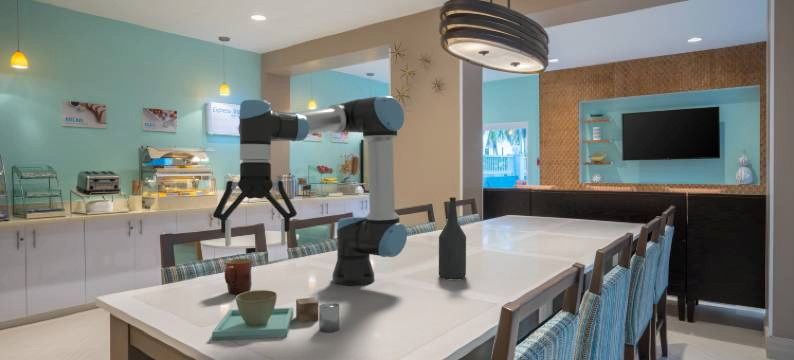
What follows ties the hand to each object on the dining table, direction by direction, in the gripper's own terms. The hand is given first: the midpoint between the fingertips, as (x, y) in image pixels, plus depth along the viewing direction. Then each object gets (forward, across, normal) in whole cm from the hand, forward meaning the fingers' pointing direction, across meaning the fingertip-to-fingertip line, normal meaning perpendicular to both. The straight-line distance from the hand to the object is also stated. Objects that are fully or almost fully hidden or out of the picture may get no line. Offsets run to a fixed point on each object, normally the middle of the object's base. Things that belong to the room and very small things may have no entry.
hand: (256, 245), depth 116 cm
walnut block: (+21, -12, -4) cm, 25 cm away
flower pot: (+20, 0, 0) cm, 20 cm away
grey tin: (+21, -18, +5) cm, 28 cm away
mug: (+21, +11, -32) cm, 40 cm away
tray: (+21, 0, +1) cm, 21 cm away
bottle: (+21, -64, -46) cm, 81 cm away
